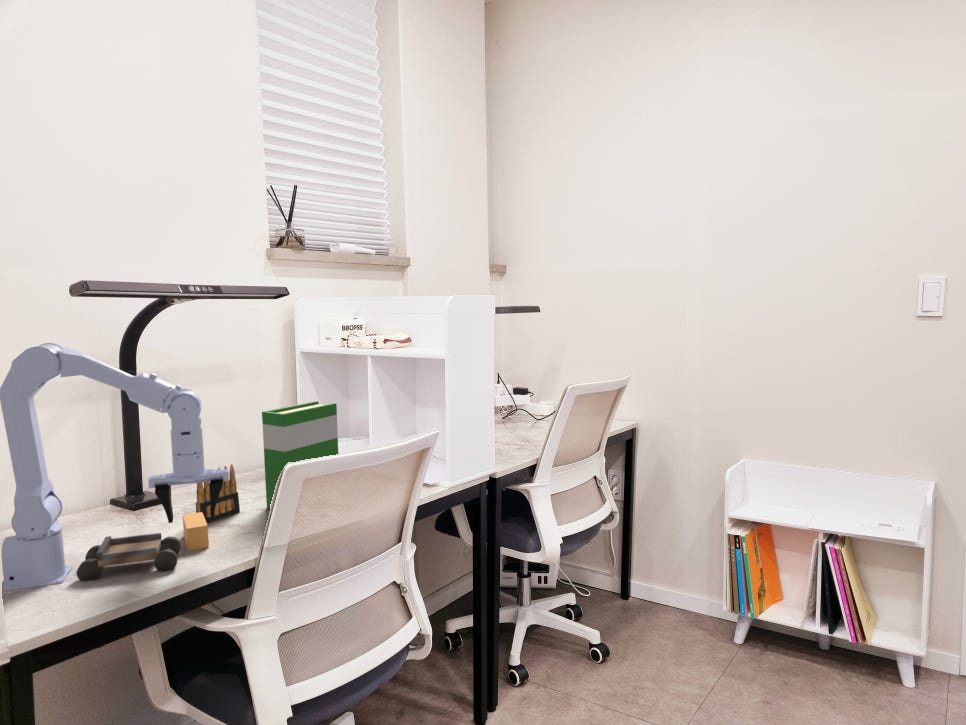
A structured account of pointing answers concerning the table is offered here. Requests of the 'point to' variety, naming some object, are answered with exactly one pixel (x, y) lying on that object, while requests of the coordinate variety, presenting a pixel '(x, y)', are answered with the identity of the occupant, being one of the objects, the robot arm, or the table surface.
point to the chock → (195, 531)
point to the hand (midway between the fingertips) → (192, 519)
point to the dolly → (130, 554)
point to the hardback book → (297, 437)
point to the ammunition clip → (219, 499)
